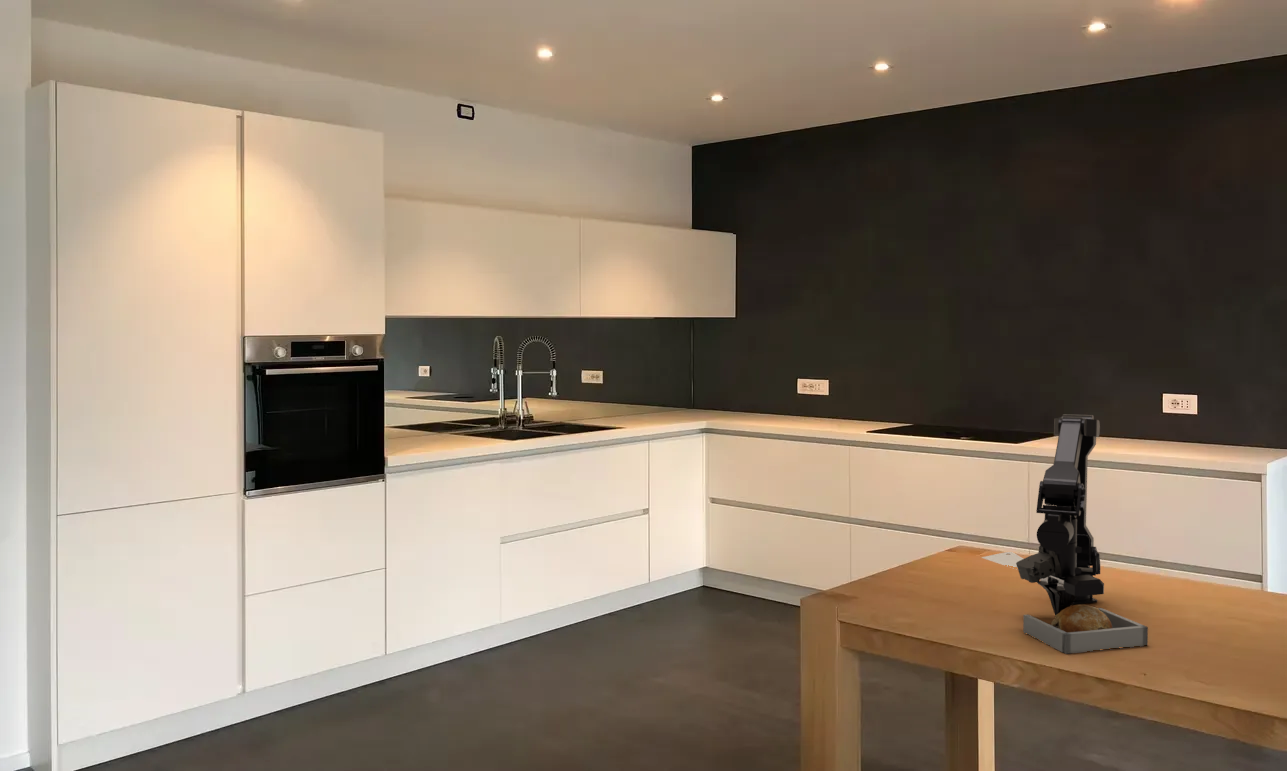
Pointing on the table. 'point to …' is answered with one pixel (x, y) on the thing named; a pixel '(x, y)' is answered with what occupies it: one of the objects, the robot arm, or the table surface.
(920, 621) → the table surface
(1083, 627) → the bread roll
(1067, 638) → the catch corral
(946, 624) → the table surface
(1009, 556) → the kitchen cleaver
